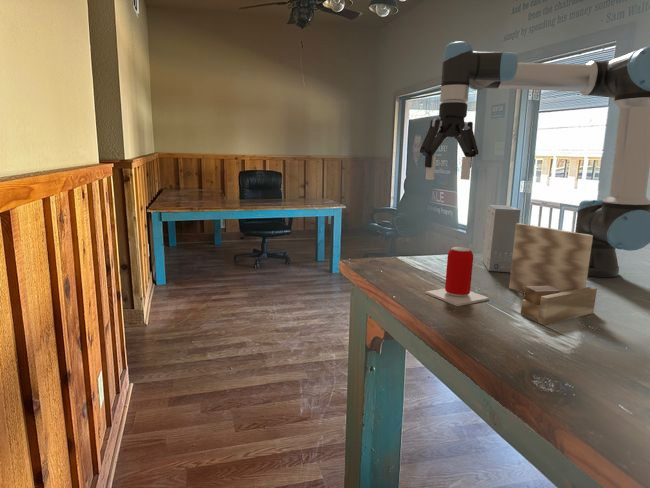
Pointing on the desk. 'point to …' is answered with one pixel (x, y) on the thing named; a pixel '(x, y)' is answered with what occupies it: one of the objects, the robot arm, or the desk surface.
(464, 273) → the beverage can
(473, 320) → the desk surface
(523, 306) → the offcut lower
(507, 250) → the hard drive box
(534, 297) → the offcut upper
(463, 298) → the felt pad
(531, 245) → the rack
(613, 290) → the desk surface
